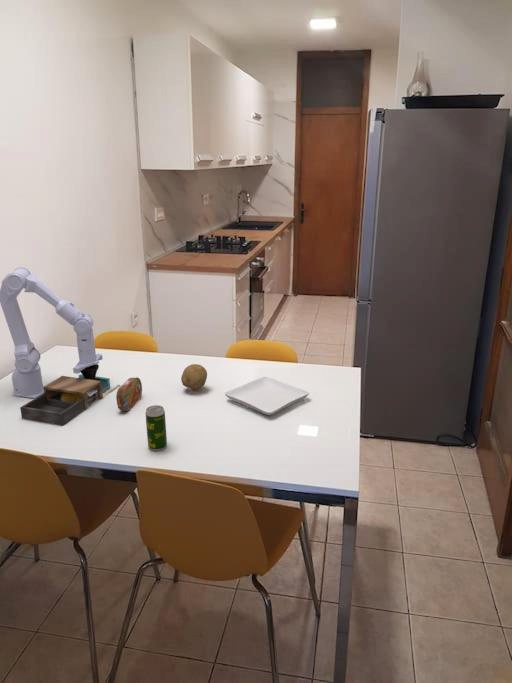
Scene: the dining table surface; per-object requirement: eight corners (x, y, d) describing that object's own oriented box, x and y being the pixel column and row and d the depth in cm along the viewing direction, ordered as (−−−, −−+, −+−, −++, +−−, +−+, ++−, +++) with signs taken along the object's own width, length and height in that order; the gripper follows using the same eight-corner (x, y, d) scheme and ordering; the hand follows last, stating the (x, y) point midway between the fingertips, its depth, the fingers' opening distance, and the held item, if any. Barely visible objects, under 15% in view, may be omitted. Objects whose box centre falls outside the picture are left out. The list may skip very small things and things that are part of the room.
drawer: (47, 405, 178) (46, 395, 177) (81, 383, 195) (80, 374, 194) (78, 409, 175) (77, 399, 173) (110, 387, 192) (109, 378, 190)
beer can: (158, 440, 156) (156, 403, 152) (171, 446, 153) (168, 408, 149) (144, 447, 152) (141, 409, 148) (156, 453, 149) (153, 415, 145)
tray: (20, 418, 170) (17, 400, 168) (82, 380, 199) (80, 364, 197) (64, 425, 165) (61, 407, 163) (120, 385, 194) (118, 369, 192)
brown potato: (186, 397, 184) (184, 371, 181) (178, 388, 192) (177, 362, 188) (210, 393, 187) (210, 366, 184) (202, 384, 195) (201, 358, 192)
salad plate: (310, 400, 182) (311, 391, 181) (269, 422, 167) (269, 412, 166) (265, 383, 196) (264, 375, 195) (223, 402, 181) (222, 393, 180)
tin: (125, 415, 172) (122, 391, 169) (116, 414, 172) (113, 390, 169) (143, 396, 186) (141, 373, 183) (135, 395, 186) (133, 373, 183)
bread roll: (91, 402, 181) (90, 391, 180) (64, 408, 177) (63, 397, 175) (84, 394, 188) (83, 383, 187) (58, 400, 183) (56, 389, 182)
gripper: (83, 357, 178) (88, 394, 183) (108, 343, 191) (111, 378, 196) (66, 355, 180) (70, 391, 185) (91, 341, 193) (95, 376, 198)
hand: (90, 384), depth 190 cm, fingers closed
